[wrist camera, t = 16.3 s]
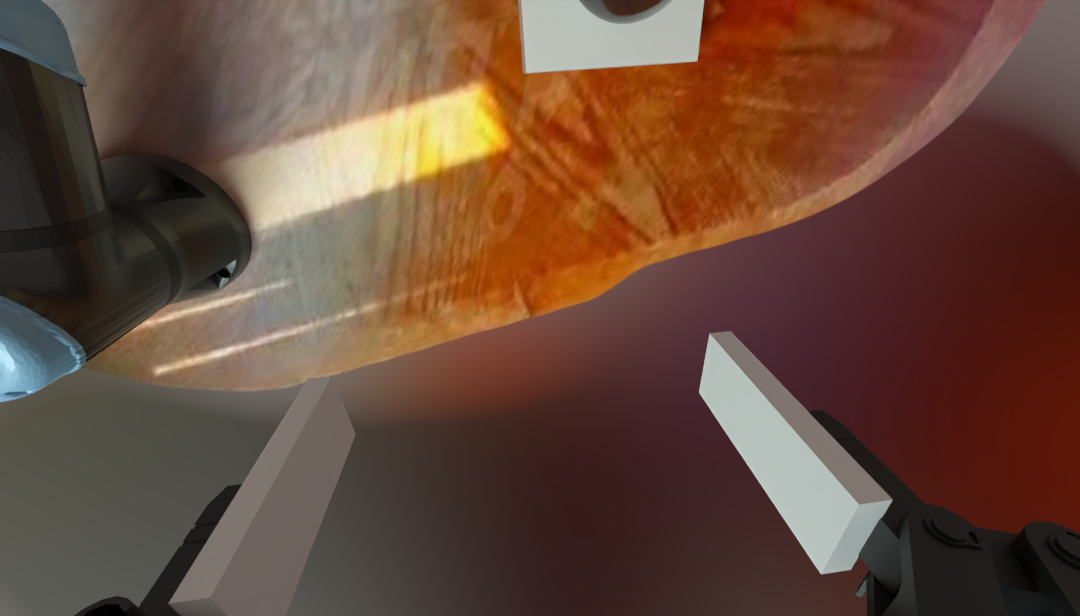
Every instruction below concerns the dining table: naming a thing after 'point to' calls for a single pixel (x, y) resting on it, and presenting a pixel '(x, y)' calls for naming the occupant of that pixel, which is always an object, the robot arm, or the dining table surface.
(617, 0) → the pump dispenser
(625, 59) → the ceramic base
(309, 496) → the robot arm
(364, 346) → the dining table surface
